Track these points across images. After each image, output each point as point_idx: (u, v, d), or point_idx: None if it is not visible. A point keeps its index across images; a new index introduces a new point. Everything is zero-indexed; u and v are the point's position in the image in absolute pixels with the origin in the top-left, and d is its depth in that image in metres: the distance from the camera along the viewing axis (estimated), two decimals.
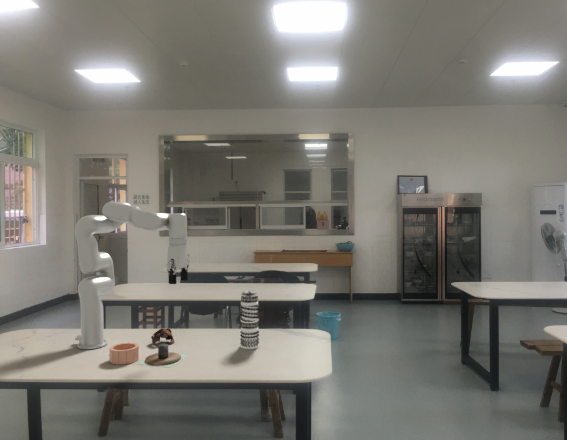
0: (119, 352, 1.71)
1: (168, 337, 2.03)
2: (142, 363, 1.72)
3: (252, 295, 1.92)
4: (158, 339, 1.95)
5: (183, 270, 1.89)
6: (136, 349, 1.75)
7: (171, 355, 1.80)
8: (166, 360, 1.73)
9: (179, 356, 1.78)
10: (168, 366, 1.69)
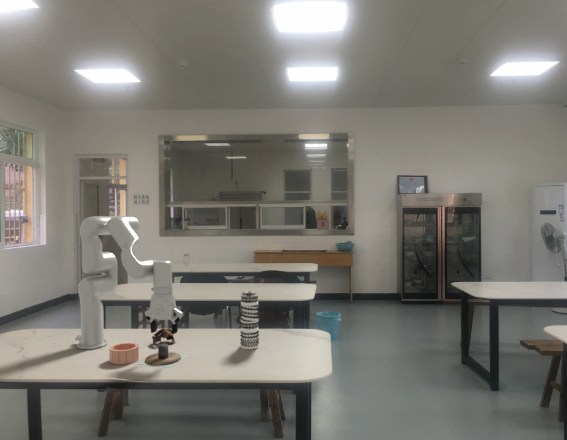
0: (119, 352, 1.71)
1: (169, 337, 2.03)
2: (142, 363, 1.72)
3: (252, 295, 1.92)
4: (159, 339, 1.95)
5: (153, 321, 1.77)
6: (136, 349, 1.75)
7: (171, 355, 1.80)
8: (166, 360, 1.73)
9: (179, 356, 1.78)
10: (168, 366, 1.69)
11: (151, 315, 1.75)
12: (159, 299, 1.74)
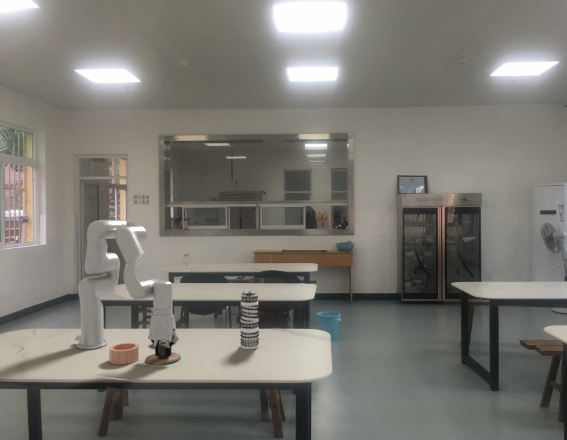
0: (119, 352, 1.71)
1: None
2: (142, 363, 1.72)
3: (252, 295, 1.92)
4: None
5: None
6: (136, 349, 1.75)
7: (171, 355, 1.80)
8: (166, 360, 1.73)
9: (179, 356, 1.78)
10: (168, 366, 1.69)
11: (150, 336, 1.75)
12: (159, 320, 1.74)
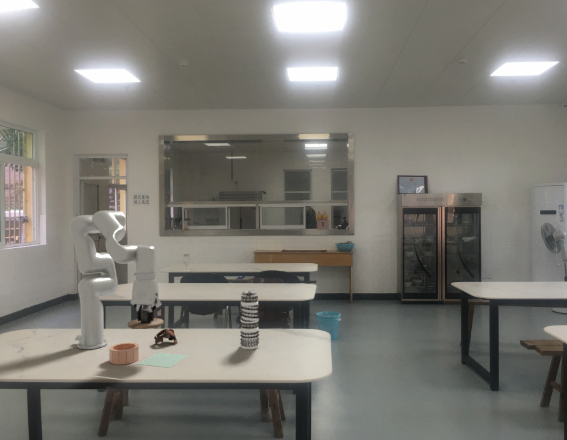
0: (119, 352, 1.71)
1: (171, 337, 2.02)
2: (142, 363, 1.72)
3: (252, 295, 1.92)
4: (161, 339, 1.94)
5: (140, 309, 1.77)
6: (136, 349, 1.75)
7: (154, 320, 1.80)
8: (148, 324, 1.73)
9: (162, 321, 1.78)
10: (168, 366, 1.69)
11: (133, 300, 1.75)
12: (141, 284, 1.74)
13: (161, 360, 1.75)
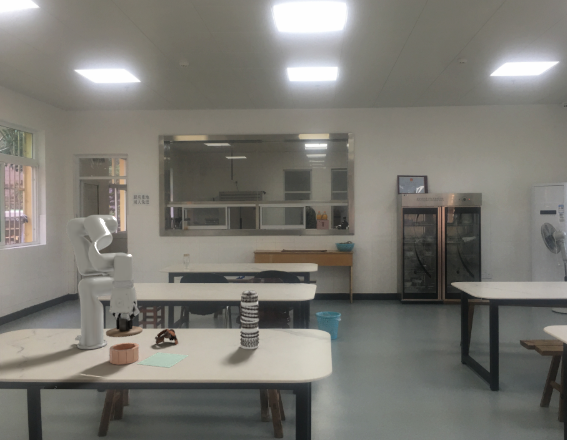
0: (119, 352, 1.71)
1: (172, 338, 2.02)
2: (142, 363, 1.72)
3: (252, 295, 1.92)
4: (162, 340, 1.94)
5: None
6: (136, 349, 1.75)
7: (133, 328, 1.79)
8: (126, 332, 1.73)
9: (141, 329, 1.77)
10: (168, 366, 1.69)
11: (111, 308, 1.74)
12: (119, 293, 1.73)
13: (161, 360, 1.75)
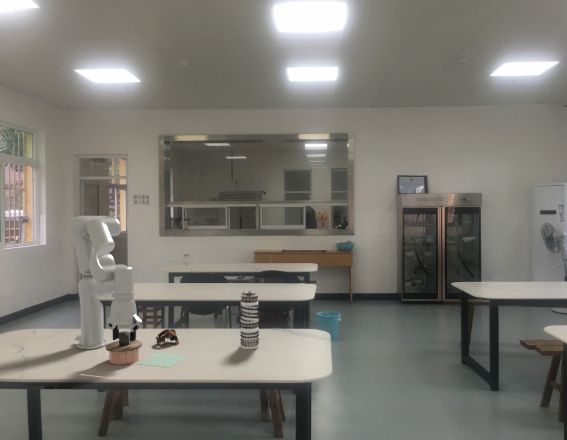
0: (119, 352, 1.71)
1: (172, 338, 2.02)
2: (142, 363, 1.72)
3: (252, 295, 1.92)
4: (163, 340, 1.94)
5: (115, 328, 1.77)
6: (136, 349, 1.75)
7: (133, 342, 1.79)
8: (126, 347, 1.73)
9: (140, 343, 1.78)
10: (168, 366, 1.69)
11: (111, 321, 1.75)
12: (119, 305, 1.73)
13: (161, 360, 1.75)
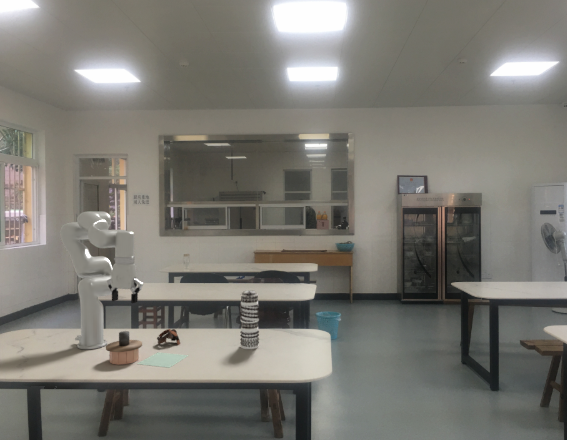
0: (119, 352, 1.71)
1: (174, 338, 2.02)
2: (142, 363, 1.72)
3: (252, 295, 1.92)
4: (164, 340, 1.93)
5: (115, 290, 1.81)
6: (136, 349, 1.75)
7: (133, 342, 1.79)
8: (126, 347, 1.73)
9: (140, 343, 1.78)
10: (168, 366, 1.69)
11: (112, 284, 1.78)
12: (120, 269, 1.76)
13: (161, 360, 1.75)
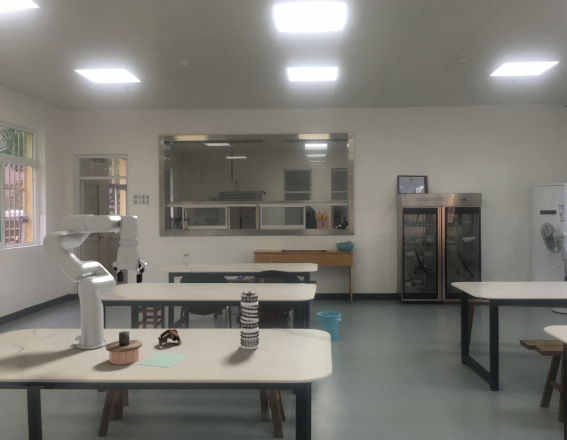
0: (119, 352, 1.71)
1: (174, 338, 2.02)
2: (142, 363, 1.72)
3: (252, 295, 1.92)
4: (165, 340, 1.93)
5: (120, 272, 1.90)
6: (136, 349, 1.75)
7: (133, 342, 1.79)
8: (126, 347, 1.73)
9: (140, 343, 1.78)
10: (168, 366, 1.69)
11: (118, 265, 1.88)
12: (125, 251, 1.86)
13: (161, 360, 1.75)
